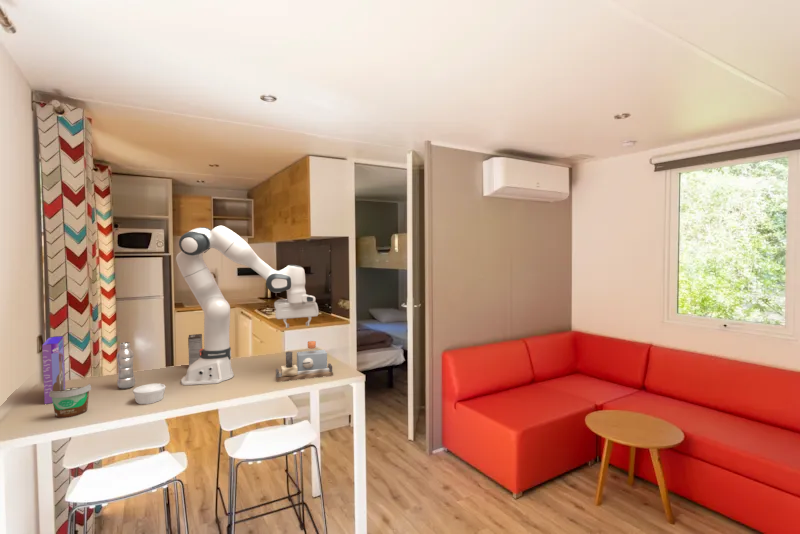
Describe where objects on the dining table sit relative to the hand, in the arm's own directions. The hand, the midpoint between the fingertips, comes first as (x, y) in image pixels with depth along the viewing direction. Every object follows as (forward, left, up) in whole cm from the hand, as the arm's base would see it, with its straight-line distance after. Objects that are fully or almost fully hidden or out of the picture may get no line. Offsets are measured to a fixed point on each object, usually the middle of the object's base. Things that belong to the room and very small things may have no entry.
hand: (297, 326), depth 197 cm
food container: (-84, -18, -24) cm, 90 cm away
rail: (+3, -3, -24) cm, 24 cm away
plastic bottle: (-73, +10, -24) cm, 78 cm away
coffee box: (-48, +37, -24) cm, 65 cm away
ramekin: (-60, -11, -24) cm, 66 cm away
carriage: (-4, -3, -22) cm, 23 cm away
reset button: (+8, +7, -12) cm, 16 cm away
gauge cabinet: (+8, +7, -24) cm, 26 cm away
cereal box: (-98, +7, -24) cm, 101 cm away
